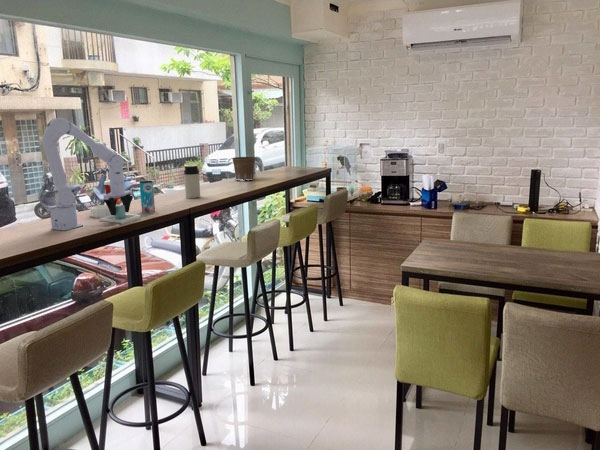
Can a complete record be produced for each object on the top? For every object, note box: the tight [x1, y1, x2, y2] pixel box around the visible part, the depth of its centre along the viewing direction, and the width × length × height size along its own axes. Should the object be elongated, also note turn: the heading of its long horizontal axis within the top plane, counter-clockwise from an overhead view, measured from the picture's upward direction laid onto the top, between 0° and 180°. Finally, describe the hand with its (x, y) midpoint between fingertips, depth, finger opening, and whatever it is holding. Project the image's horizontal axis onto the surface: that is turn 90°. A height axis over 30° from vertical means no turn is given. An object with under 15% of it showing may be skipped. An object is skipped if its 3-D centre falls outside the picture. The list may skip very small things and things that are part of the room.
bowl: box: [90, 204, 112, 219], centre depth 230 cm, size 13×13×4 cm
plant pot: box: [231, 156, 256, 180], centre depth 351 cm, size 16×16×16 cm
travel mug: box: [183, 164, 201, 199], centre depth 280 cm, size 8×8×18 cm
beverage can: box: [139, 180, 156, 214], centre depth 235 cm, size 6×6×15 cm
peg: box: [114, 204, 127, 220], centre depth 218 cm, size 4×4×6 cm
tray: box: [99, 213, 142, 225], centre depth 219 cm, size 12×12×2 cm
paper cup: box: [103, 180, 121, 205], centre depth 247 cm, size 8×8×14 cm
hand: (120, 213), depth 218 cm, fingers open, 7 cm apart
